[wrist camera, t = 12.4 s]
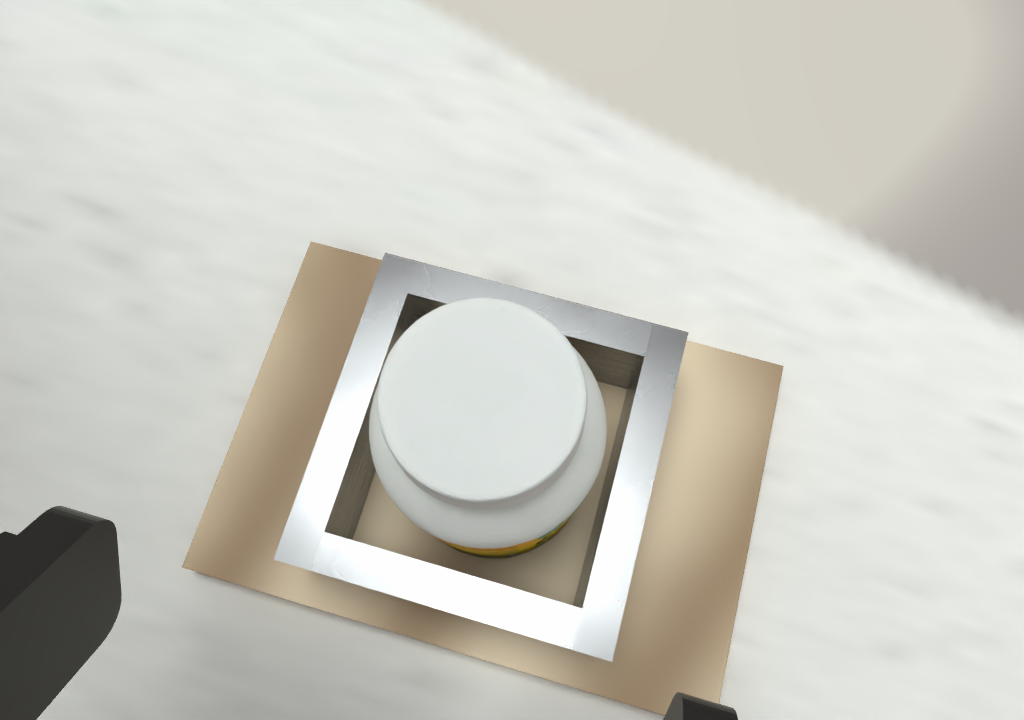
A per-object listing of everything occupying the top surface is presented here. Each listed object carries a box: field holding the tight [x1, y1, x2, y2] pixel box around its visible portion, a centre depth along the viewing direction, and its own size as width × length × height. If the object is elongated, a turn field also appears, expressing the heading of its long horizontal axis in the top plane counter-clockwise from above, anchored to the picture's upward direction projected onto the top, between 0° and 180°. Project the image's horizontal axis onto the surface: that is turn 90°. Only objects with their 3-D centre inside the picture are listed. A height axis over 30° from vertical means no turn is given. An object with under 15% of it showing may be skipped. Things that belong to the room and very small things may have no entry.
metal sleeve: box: [274, 253, 688, 662], centre depth 22 cm, size 9×9×4 cm
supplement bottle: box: [369, 297, 607, 559], centre depth 19 cm, size 5×5×10 cm
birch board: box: [182, 242, 783, 715], centre depth 24 cm, size 16×11×1 cm
